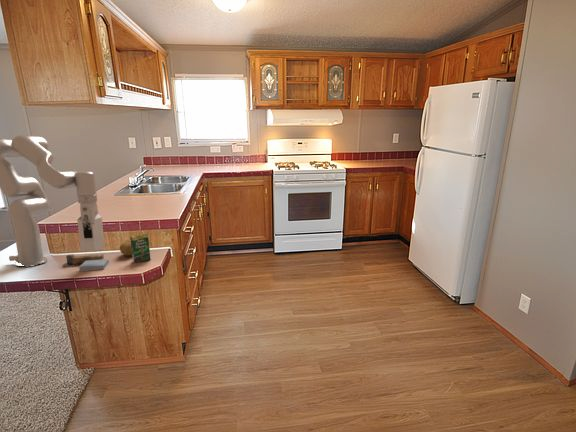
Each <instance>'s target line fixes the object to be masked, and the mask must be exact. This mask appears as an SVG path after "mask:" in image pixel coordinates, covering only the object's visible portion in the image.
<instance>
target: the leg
mask: <svg viewBox="0 0 576 432" xmlns="http://www.w3.org/2000/svg"><path fill="white" fill-rule="evenodd" d="M65 258H66V263H67V264H68V265H70V264H77V263H80V264H83V263H84V262H85V261H86V260H102V259H105V256H104V254H92V255H91V254H90V255H89V254H88V255H78V256H75V254H67V255H66V257H65Z"/></svg>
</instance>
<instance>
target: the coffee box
mask: <svg viewBox="0 0 576 432" xmlns="http://www.w3.org/2000/svg"><path fill="white" fill-rule="evenodd" d="M130 239H131V248H132V255H131V256H132V262H133V263H140V262H145V261H146V262H147V261H151V252H150V251H151V250H150V241H149V234H147V233H146V234H139V235H134V236H130Z"/></svg>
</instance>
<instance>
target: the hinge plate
mask: <svg viewBox="0 0 576 432" xmlns="http://www.w3.org/2000/svg"><path fill="white" fill-rule="evenodd" d="M78 265H81V263H77V264H70V265H68V264H67V262H66V263H63V264H62V267H64V266H65V267H66V268H70V267H75V266H78ZM65 267H64V268H65Z"/></svg>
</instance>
